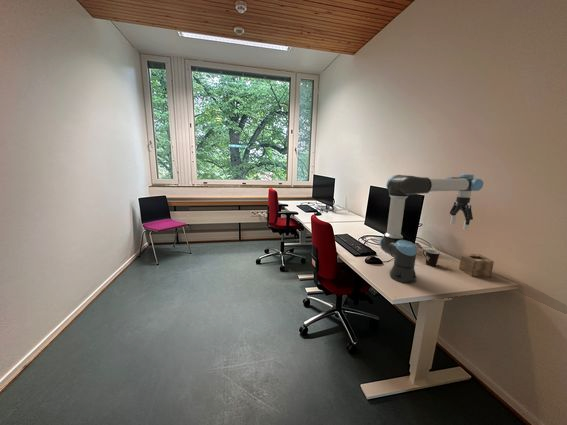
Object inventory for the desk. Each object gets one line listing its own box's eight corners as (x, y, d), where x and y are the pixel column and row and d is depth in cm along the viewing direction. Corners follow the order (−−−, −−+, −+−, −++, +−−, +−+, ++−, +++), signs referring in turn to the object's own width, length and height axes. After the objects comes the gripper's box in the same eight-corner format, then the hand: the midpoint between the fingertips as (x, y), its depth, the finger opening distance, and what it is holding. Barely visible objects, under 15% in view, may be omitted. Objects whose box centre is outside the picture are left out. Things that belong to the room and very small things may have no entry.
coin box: (471, 276, 152) (474, 260, 150) (459, 268, 163) (461, 253, 161) (490, 277, 151) (493, 261, 149) (476, 269, 163) (479, 254, 161)
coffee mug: (440, 267, 165) (442, 254, 163) (426, 266, 166) (428, 253, 164) (433, 261, 176) (434, 248, 174) (420, 260, 178) (422, 247, 176)
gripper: (483, 199, 148) (477, 231, 152) (457, 194, 172) (452, 222, 177) (471, 199, 148) (465, 231, 153) (446, 194, 173) (442, 222, 177)
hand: (458, 226), depth 165 cm, fingers open, 13 cm apart
